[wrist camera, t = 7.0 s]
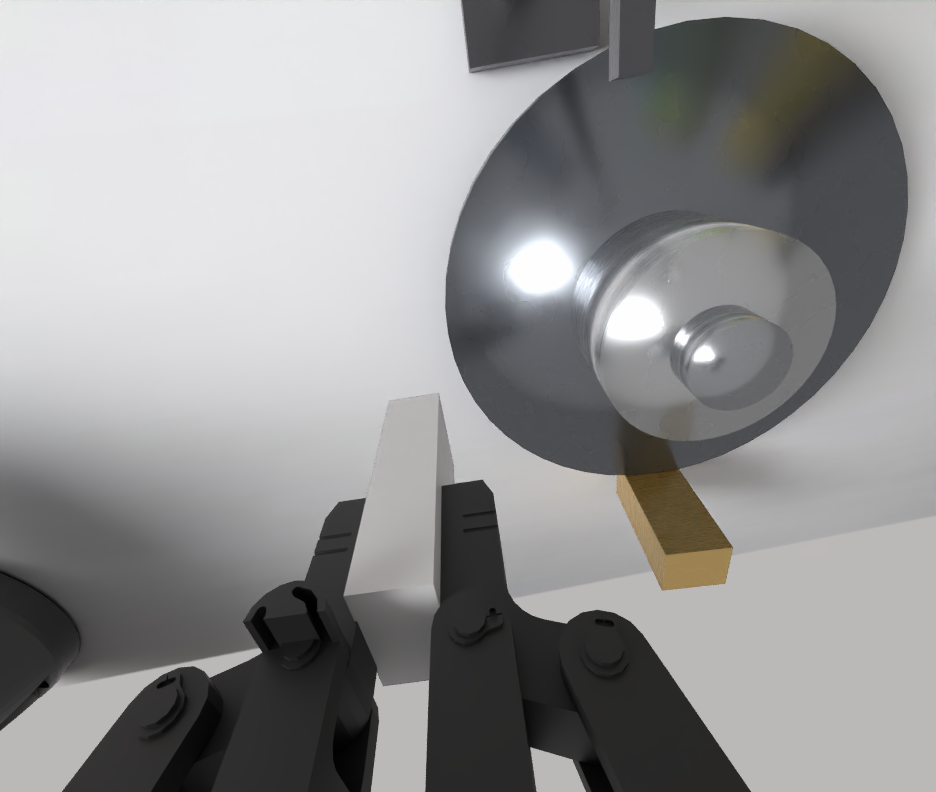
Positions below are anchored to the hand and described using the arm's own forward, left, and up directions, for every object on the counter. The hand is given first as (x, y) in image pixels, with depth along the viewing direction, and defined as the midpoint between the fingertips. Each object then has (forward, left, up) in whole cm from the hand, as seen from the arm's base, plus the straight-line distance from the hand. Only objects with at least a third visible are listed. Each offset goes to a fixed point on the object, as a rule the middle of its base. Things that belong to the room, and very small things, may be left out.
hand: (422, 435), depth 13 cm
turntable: (+11, -1, -10) cm, 14 cm away
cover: (+10, 0, -8) cm, 13 cm away
